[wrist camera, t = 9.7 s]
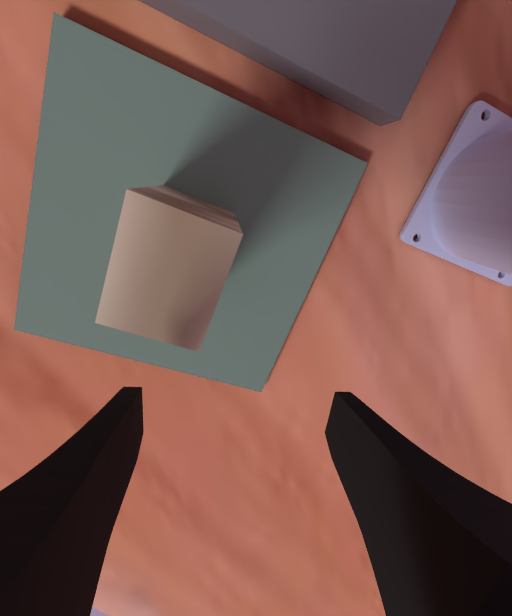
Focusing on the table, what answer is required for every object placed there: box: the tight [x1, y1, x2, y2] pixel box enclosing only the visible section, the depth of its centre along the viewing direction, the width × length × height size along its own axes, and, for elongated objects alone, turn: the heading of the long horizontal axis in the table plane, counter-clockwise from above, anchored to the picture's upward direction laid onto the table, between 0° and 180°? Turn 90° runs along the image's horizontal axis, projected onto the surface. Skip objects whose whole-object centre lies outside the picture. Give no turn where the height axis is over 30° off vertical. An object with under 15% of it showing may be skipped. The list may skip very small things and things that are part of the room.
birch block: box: [95, 185, 243, 352], centre depth 14 cm, size 4×5×7 cm
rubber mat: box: [14, 12, 368, 392], centre depth 18 cm, size 16×16×1 cm
